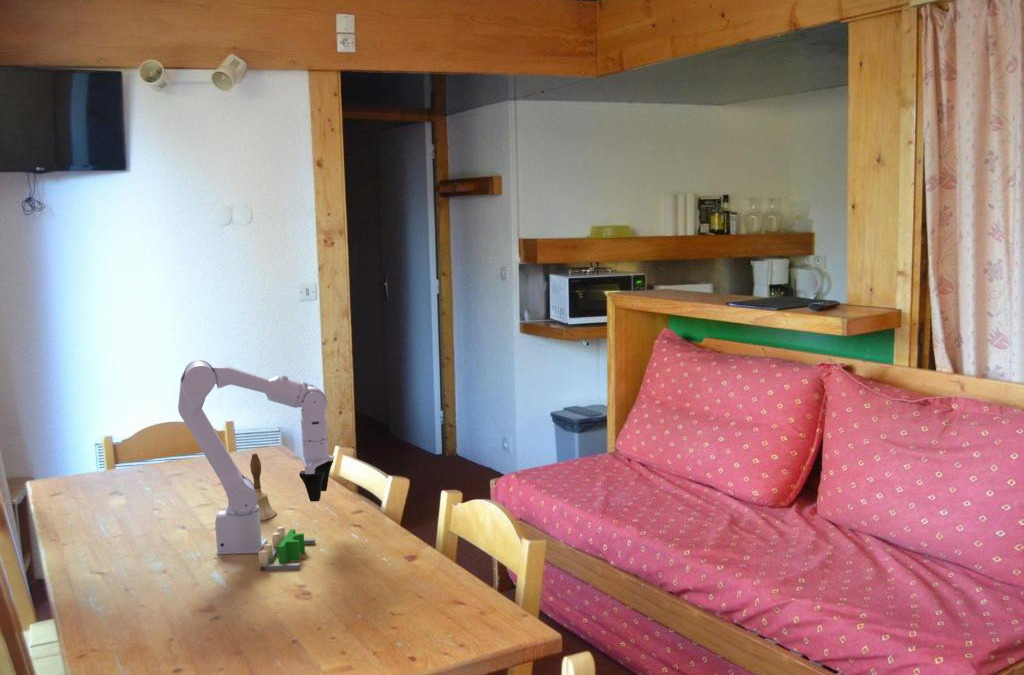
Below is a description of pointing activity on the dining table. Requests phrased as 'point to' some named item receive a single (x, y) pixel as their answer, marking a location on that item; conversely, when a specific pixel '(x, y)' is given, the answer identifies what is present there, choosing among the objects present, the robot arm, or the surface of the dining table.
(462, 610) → the dining table surface
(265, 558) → the peg cradle
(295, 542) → the pipe clamp
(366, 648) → the dining table surface
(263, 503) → the hand bell
